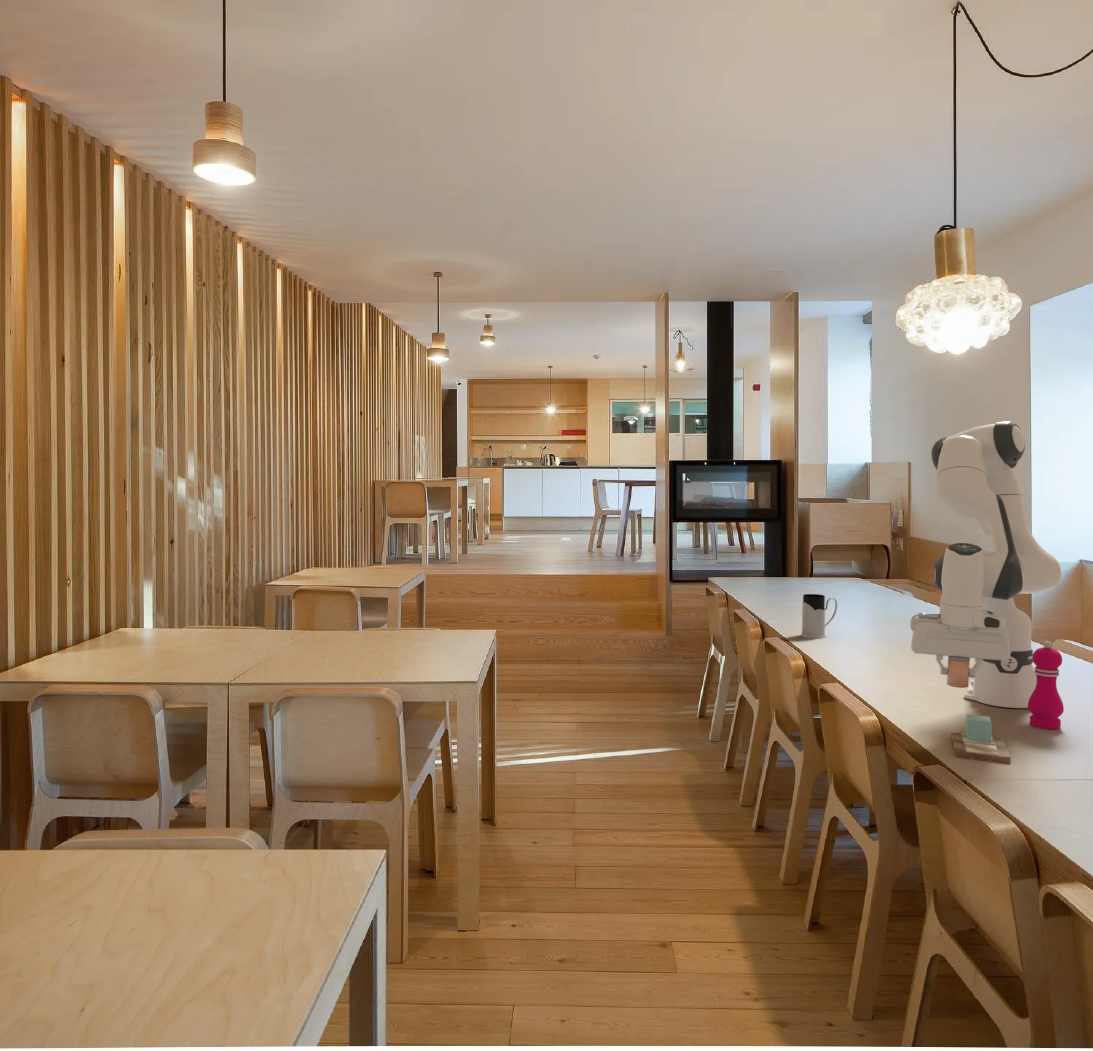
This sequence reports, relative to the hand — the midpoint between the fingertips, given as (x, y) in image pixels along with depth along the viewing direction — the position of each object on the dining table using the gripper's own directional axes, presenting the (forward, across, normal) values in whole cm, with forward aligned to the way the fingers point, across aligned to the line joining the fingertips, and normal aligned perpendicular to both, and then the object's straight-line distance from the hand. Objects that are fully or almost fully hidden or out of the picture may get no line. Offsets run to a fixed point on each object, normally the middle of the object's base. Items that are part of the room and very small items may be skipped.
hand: (957, 675), depth 192 cm
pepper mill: (+13, +20, +11) cm, 27 cm away
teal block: (+11, +4, -10) cm, 15 cm away
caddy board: (+12, +4, -13) cm, 18 cm away
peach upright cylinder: (+2, 0, 0) cm, 2 cm away
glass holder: (+19, -35, +108) cm, 115 cm away
